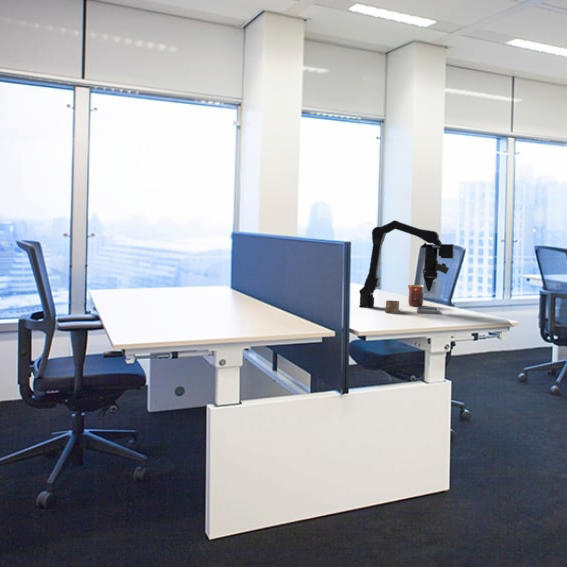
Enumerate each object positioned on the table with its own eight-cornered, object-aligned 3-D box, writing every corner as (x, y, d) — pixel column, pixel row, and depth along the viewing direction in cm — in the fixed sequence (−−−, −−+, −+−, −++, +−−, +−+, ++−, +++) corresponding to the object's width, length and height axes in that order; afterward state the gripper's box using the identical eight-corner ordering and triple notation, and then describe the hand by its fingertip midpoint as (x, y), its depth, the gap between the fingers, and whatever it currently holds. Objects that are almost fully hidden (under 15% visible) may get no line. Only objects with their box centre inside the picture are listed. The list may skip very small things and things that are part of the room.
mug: (406, 304, 307) (407, 284, 306) (424, 305, 305) (425, 285, 304) (406, 307, 295) (407, 287, 294) (424, 308, 293) (426, 288, 292)
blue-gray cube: (422, 292, 280) (423, 281, 279) (422, 291, 285) (423, 280, 285) (434, 293, 279) (435, 282, 278) (434, 292, 284) (435, 280, 283)
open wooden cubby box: (385, 312, 277) (385, 302, 276) (385, 310, 283) (386, 300, 282) (398, 313, 275) (399, 302, 275) (398, 311, 281) (399, 301, 281)
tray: (417, 312, 279) (417, 309, 279) (416, 309, 289) (417, 306, 289) (438, 314, 277) (439, 311, 277) (437, 311, 287) (438, 307, 287)
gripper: (449, 259, 269) (447, 293, 271) (447, 257, 287) (445, 289, 289) (424, 258, 272) (422, 292, 273) (423, 256, 290) (421, 287, 291)
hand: (428, 290), depth 282 cm, fingers closed on blue-gray cube, 6 cm apart
